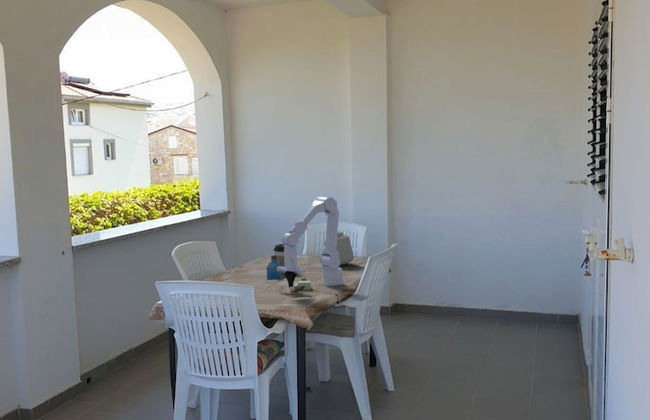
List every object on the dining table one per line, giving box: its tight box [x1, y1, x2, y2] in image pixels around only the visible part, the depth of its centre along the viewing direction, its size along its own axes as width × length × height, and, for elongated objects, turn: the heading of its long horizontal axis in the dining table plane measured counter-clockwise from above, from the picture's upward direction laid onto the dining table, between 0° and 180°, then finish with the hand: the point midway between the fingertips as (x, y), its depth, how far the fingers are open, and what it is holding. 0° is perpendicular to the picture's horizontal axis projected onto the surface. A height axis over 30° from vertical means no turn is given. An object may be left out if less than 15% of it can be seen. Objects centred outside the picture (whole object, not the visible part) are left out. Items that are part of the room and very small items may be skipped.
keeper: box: [297, 280, 312, 290], centre depth 286 cm, size 4×6×3 cm
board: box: [271, 277, 321, 296], centre depth 286 cm, size 19×17×5 cm
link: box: [290, 279, 308, 291], centre depth 288 cm, size 15×4×2 cm, turn 158°
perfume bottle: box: [266, 254, 283, 281], centre depth 317 cm, size 6×6×12 cm
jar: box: [323, 231, 355, 266], centre depth 349 cm, size 19×15×25 cm
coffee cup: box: [272, 243, 285, 273], centre depth 332 cm, size 11×11×15 cm
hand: (291, 287), depth 284 cm, fingers closed
